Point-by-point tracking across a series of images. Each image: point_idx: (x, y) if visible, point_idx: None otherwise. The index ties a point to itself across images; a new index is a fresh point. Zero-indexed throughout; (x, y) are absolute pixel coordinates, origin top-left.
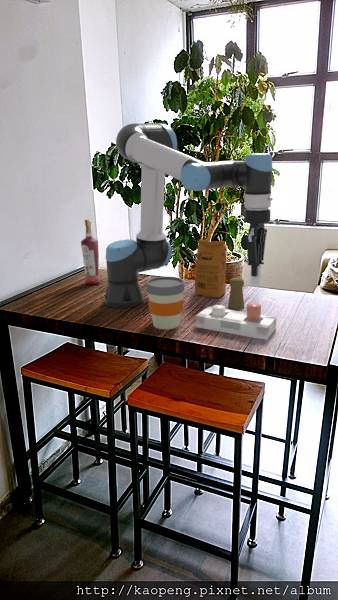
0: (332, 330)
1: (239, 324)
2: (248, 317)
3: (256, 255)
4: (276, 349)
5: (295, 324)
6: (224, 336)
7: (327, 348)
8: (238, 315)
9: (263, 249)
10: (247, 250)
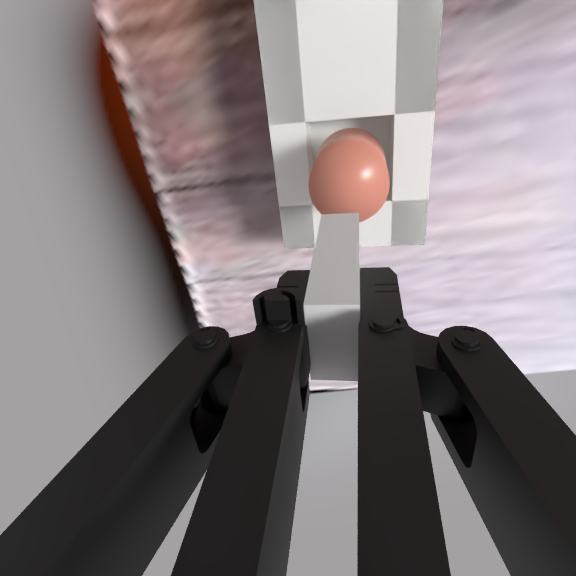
0: None
1: (269, 122)
2: (317, 153)
3: (181, 489)
4: (240, 276)
5: (494, 273)
6: (229, 56)
7: (327, 382)
8: (368, 64)
9: (497, 535)
10: (45, 489)
